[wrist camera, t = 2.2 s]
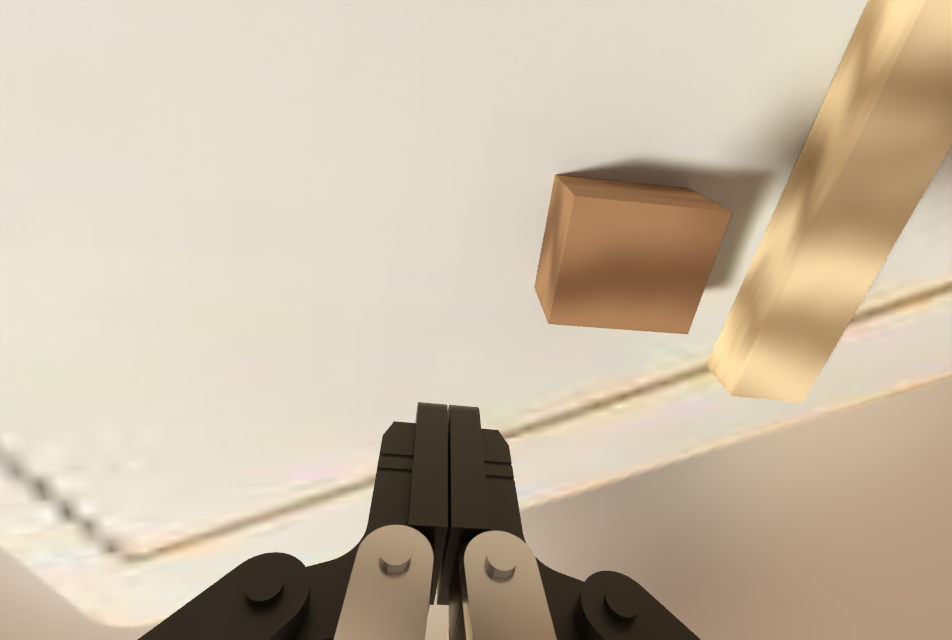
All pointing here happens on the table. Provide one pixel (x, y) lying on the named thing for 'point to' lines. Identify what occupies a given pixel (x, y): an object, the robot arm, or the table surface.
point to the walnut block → (627, 254)
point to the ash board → (843, 200)
